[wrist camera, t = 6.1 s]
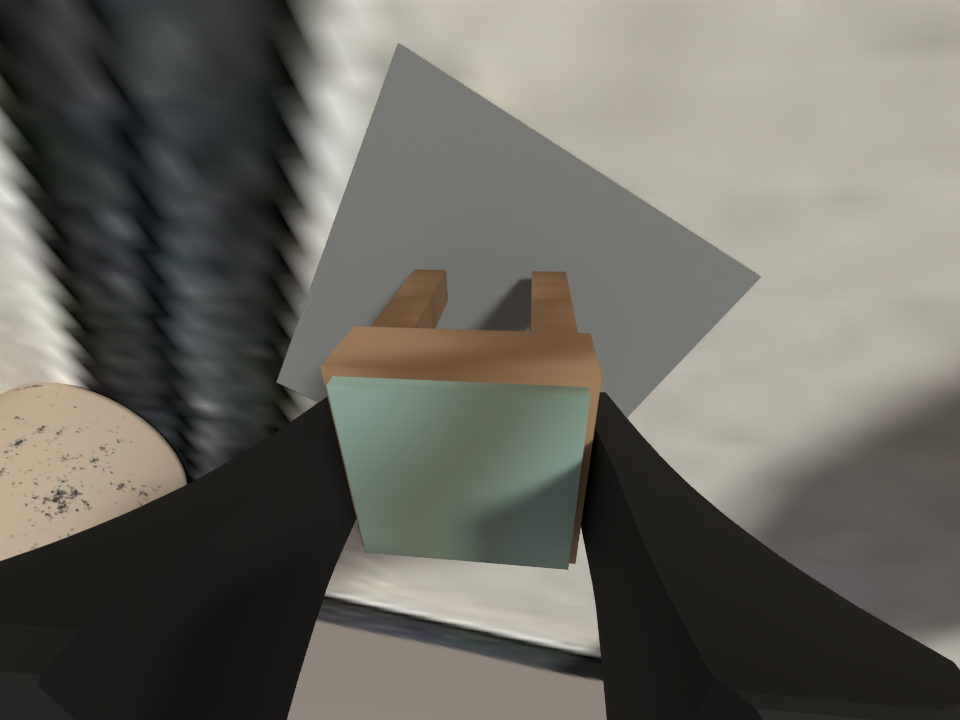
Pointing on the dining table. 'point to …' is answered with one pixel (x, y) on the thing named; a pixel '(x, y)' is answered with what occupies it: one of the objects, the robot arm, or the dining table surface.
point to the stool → (467, 428)
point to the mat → (505, 239)
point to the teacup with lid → (74, 464)
